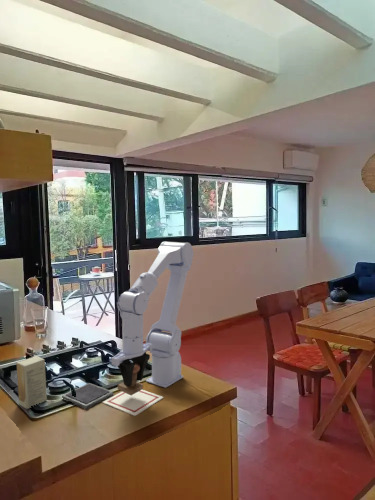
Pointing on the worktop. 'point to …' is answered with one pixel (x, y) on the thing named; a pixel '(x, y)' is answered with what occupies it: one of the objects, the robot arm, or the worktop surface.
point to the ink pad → (88, 395)
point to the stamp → (135, 385)
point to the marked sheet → (133, 401)
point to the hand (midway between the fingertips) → (133, 382)
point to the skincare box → (31, 381)
